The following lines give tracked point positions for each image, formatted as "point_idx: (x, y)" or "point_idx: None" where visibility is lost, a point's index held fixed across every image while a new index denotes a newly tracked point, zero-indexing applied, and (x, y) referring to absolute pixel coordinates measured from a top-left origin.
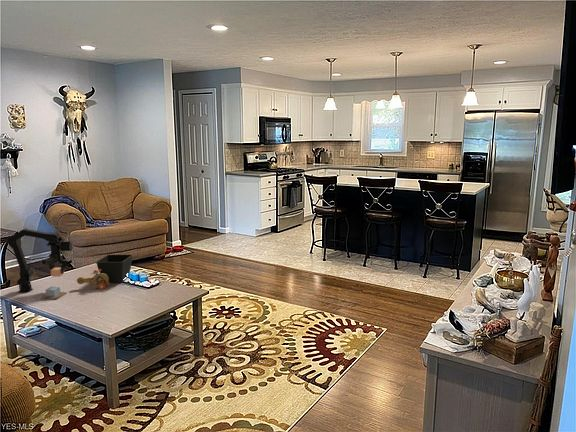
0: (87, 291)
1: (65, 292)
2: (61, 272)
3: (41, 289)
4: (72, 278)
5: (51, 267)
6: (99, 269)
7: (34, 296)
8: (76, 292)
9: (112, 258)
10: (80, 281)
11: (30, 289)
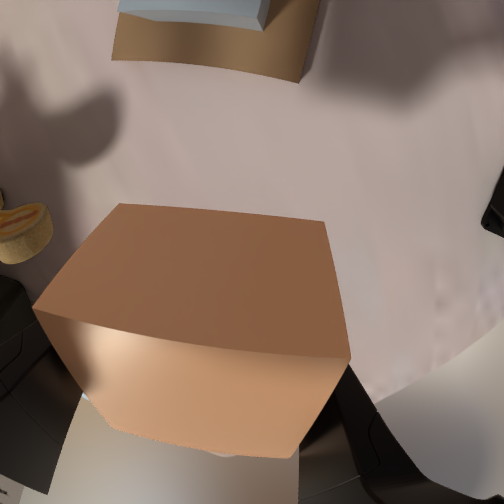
0: (6, 131)
1: (117, 51)
2: None
3: (423, 212)
4: None
5: (343, 460)
6: None
7: (431, 20)
8: (55, 100)
9: None
10: (20, 216)
11: (500, 192)
